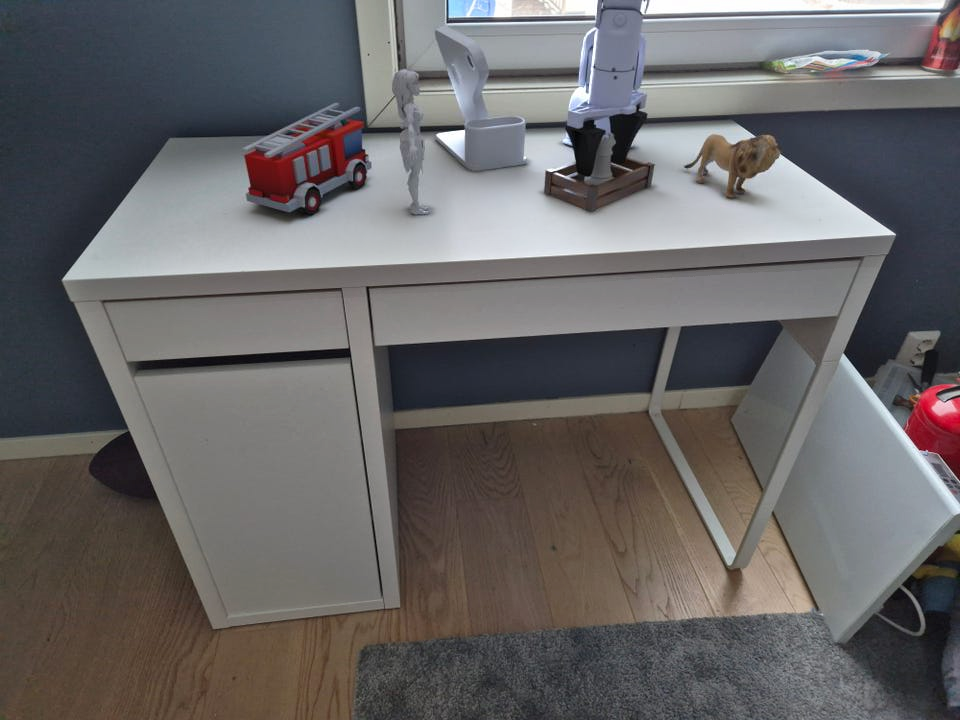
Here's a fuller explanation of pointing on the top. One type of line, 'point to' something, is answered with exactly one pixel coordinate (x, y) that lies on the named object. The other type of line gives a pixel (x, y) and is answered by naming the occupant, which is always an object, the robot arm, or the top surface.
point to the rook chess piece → (602, 161)
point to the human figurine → (410, 131)
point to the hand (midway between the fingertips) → (600, 168)
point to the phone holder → (477, 110)
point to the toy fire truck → (307, 161)
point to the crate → (602, 192)
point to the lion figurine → (737, 159)
